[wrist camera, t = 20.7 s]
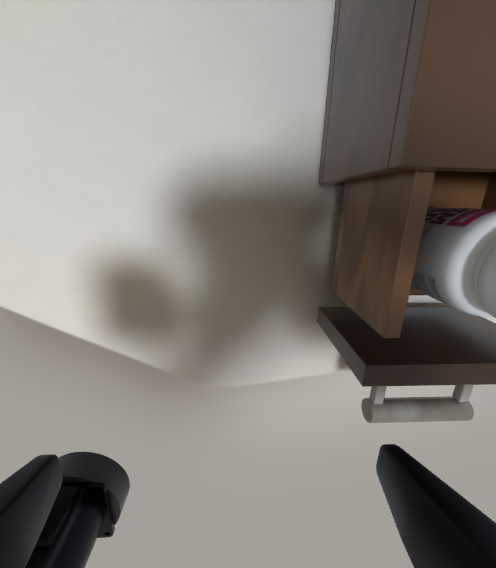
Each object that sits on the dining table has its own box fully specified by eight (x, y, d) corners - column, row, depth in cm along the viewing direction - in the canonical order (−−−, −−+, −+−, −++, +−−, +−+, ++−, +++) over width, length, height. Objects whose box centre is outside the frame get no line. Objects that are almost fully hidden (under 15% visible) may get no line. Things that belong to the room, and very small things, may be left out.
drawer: (440, 373, 22) (539, 454, 15) (310, 375, 21) (349, 460, 14) (506, 140, 17) (704, 95, 10) (337, 133, 16) (417, 79, 9)
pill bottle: (415, 189, 16) (596, 177, 8) (460, 240, 17) (659, 273, 9) (358, 249, 17) (470, 291, 9) (404, 293, 18) (541, 365, 10)
